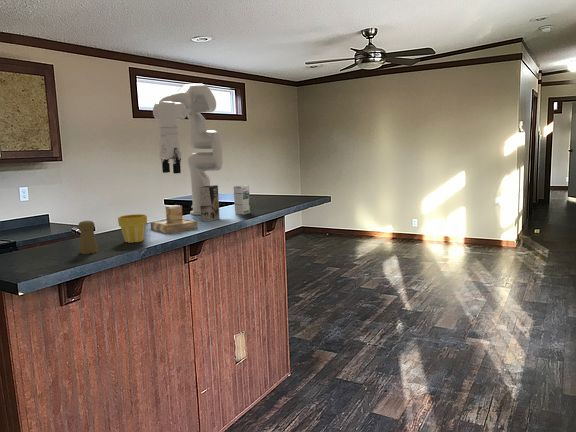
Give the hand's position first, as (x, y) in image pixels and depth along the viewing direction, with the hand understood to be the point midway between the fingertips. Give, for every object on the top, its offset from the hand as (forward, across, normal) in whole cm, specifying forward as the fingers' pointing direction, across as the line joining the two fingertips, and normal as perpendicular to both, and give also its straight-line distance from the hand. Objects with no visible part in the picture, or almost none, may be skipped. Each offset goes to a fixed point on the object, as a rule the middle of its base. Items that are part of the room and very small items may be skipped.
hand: (171, 172), depth 203 cm
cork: (+24, +17, -42) cm, 52 cm away
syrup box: (+25, -13, +45) cm, 53 cm away
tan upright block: (+21, 0, 0) cm, 21 cm away
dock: (+24, -1, 0) cm, 24 cm away
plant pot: (+24, +11, -23) cm, 35 cm away
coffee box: (+24, -10, +24) cm, 35 cm away
